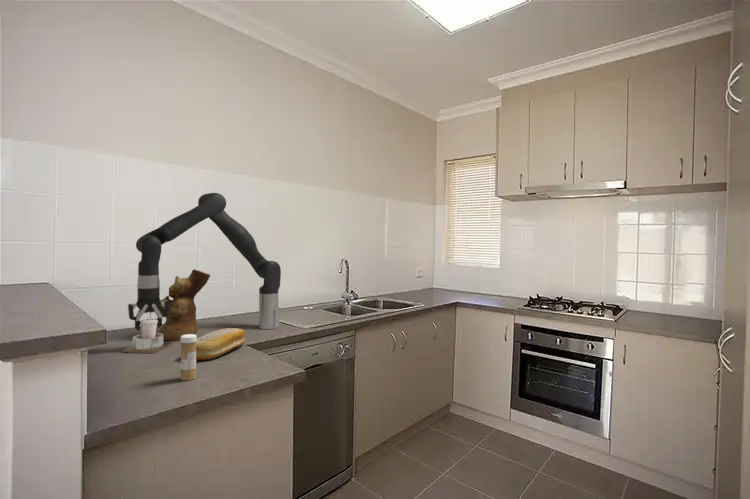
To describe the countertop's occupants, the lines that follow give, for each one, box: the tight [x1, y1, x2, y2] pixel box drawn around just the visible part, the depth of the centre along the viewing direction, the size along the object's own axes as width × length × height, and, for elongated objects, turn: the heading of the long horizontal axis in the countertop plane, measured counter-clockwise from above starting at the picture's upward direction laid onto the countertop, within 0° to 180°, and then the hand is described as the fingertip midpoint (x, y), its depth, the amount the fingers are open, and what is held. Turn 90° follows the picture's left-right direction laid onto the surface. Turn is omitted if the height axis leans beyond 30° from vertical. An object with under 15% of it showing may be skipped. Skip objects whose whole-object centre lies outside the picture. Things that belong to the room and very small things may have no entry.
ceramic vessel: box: [158, 268, 211, 343], centre depth 172 cm, size 16×22×30 cm
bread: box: [196, 327, 246, 362], centre depth 150 cm, size 13×26×8 cm, turn 170°
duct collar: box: [122, 332, 173, 354], centre depth 153 cm, size 12×12×5 cm
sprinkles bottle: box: [179, 334, 198, 381], centre depth 120 cm, size 5×5×14 cm
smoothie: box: [139, 312, 158, 339], centre depth 153 cm, size 6×6×14 cm
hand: (148, 328), depth 153 cm, fingers open, 6 cm apart
